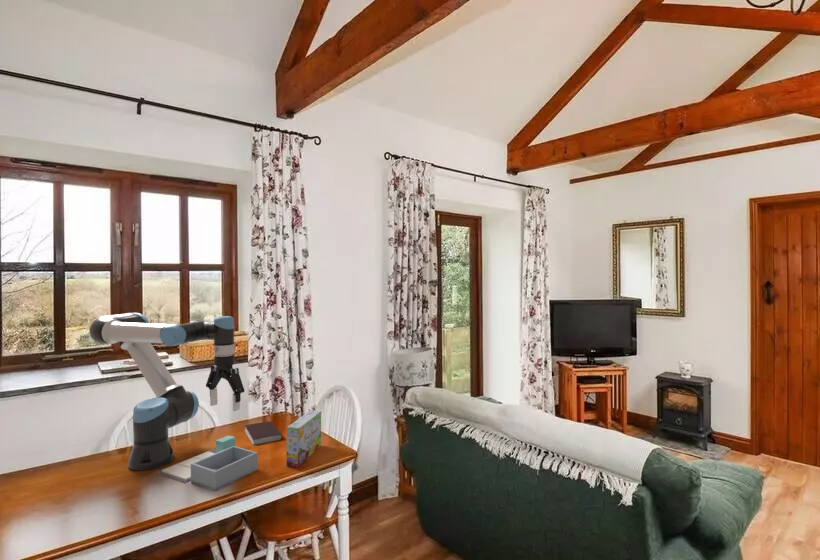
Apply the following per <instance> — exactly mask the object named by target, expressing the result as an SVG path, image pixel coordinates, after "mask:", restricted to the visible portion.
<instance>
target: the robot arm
mask: <svg viewBox="0 0 820 560" xmlns="http://www.w3.org/2000/svg"><path fill="white" fill-rule="evenodd" d="M235 328H236V327H235V320H234V317H233V316H230V315H220V316H215V317H214V318H213V321H210V320H200V319H198V320H191V321H189V322H187V323H180V324H179V323H177V324H175V323H152V322H151V323H150V321H149V319H148V317H146V316H145V315H144V314H142V313H139V312H126V313H120V314H109V315H102V316H99V317H98V318H95V320H93V321H92V323H91V324H90V327H89V336H90V337H91V339H92V340H93V341H94V342H95V343H98V344H101V345H103V344H104V345H105V344H106V345H107V344H108V345H109V344H110V345H114V344H116V343H118V344H117V345H119V347H120V349H121V350H125V351H127V352H128V353H129V355H130V357H131V359H132V360H133V361H134V364H135V365H136V366H137V368H138V370H139V371H140V372H141V375H142V376H143V377H144V379H145V381H146V382H147V384H148V386H149V387H150V389H151V390H152V392H153V393H154V395H155V397H153V398H149V399H144V400H142V401H141V402H138V404H136V405H135V406H134V408H133V411H132V413H133V414H132V431H133V433H132V434H133V435H132V436H133V438H132V439H133V446H132V449H131V451H130V455H129V458H128V461H127V462H128V468H129V469H130V470H133V471H148V470H153V469H154V470H155V469H158V468H160V467H164V466H166V465H168V464H170V463H171V462H172V461H173V460H174V458H175V456H174V455H175V454H174V450H173V447H172V444H171V443H170V442H171V441H170V440H169V429H171V428H174V427H176V426H177V425H180V424H182V423H185V422H188V421H189V420H191V419H192V418H194V417H195V416H196V414H197V413H198V411H199V406H200V401H199V398H198V396H197V394H196V393H195V392H193V391H190V390H186V389H185V386H183V385H182V384H177V382H176V380H175V379H174V378H173V375H172V374H171V373H170V372H169V370H168V368H167V366H166V365H165V363H164V362H163V361H162V359H161V357H160V356H159V353H158V352H157V351H156V350H155V348H154V346H153V345H152V344H162V345H165V346H167V347H175V346H180V345H183V344H188V343H193V342H198V341H203V340H205V341H206V340H207V341H209V340H212V341H213V345H214V346H213V350H214V351H213V353H214V357H213V360H214V361H213V363H214V364H213V365H210V371H209V374H208V378H207V381H206V383H205V387H206V388H208V390H209V397H210V401H209V403H210V406H211V407H214V406H216V405H218V388H217V387H218V385H219V383H220V382H221V380H222V379H224V380H225V381H227V382H228V385H229V386H230V389H231V390H232V392H233V394H232V411H233V412H236V411H240V410H241V394H242V393H245V388H244V387H245V386H244V385H243V382H242V379H241V376H240V372H239V371H240V369H239V368H238V367H236V368H234V367H233V366H234V364H235V351H236V350H235V349H236V348H235Z"/></svg>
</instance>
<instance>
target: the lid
mask: <svg viewBox="0 0 820 560" xmlns="http://www.w3.org/2000/svg"><path fill="white" fill-rule="evenodd" d="M232 446H236V437H235V436H232V435H226V436H223V437H221V438H219V439H215V448H216V453H218V452H220V451H223V450H225V449H227V448H230V447H232ZM209 451H210V450H207V451H205V452H203V453H200V454H198V455H196V456H193V457H191V458H188V459H185V460H183V461H181V462H180V461H179V462H178V463H175V464H173V465H171V466H168V467H166V468H164V469H161V470H162V472H164V473H167V474H169V475H172V476H175V477H178V478H180V479H183V480H188V479H190V478H191V464H192V463H194V462H196V461H199V460H201V459H204V458H206V457H208V456H211V455H213V454H215V453H212V452H209Z"/></svg>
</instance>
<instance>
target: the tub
mask: <svg viewBox="0 0 820 560" xmlns="http://www.w3.org/2000/svg"><path fill="white" fill-rule="evenodd" d="M258 454H259V453H258V452H257V451H254V450H250V449H246V448H242V447H239V446H236V445H235V446H232V447H230V448H227V449H225V450H223V451H220V452H218V453H215V454H213V455H211V456H208V457H206V458H204V459H201V460H199V461H196V462H194V463H192V464H191V480H190V483H192V484H194V485H197V486H200V487H202V488H205V489H209V490H211V491H213V492H217V491H219V490H221V489H223V488H225V487H227V486H229V485H231V484H232V483H235V482H237V481H238V480H240V479H242V478H245V477H247V476H249V475H251V474H252V473H254V472H256V471H258V470H259V457H258V456H259V455H258ZM217 466H221V467H222V468H220V469H218V470H216V471H215V470H212V469H213V468H215V467H217Z"/></svg>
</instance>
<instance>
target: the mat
mask: <svg viewBox="0 0 820 560" xmlns="http://www.w3.org/2000/svg"><path fill="white" fill-rule="evenodd" d="M208 451H209V452H212V453H216V447H215V448H213V449H210V450H208ZM162 470H163V469H161V470H159V471H157V472H156V474H158V473H159V475H161V476H164V477H165V478H166V477H167V478H169V479H172V480H173V481H174V480H175V481H177V482H180V483H183V484H186V483H188V482H191V478H190V479H188V480H183V479H180V478H178V477H175V476H172V475H169V474H167V473H164V472H162Z"/></svg>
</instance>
